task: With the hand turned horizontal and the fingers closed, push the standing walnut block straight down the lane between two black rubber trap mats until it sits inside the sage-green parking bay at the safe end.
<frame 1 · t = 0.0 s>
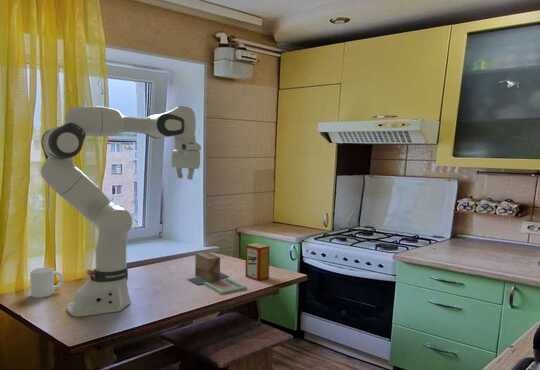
hand: (184, 178, 176), 48 cm above the table, tool pointing down, fingers open, 8 cm apart
baking soda box: (257, 278, 199), on the table
parking bay: (224, 286, 185), on the table
mug: (47, 294, 171), on the table
trap mat right: (218, 275, 202), on the table
walnut block: (207, 278, 197), on the table
trap mat left: (197, 281, 191), on the table
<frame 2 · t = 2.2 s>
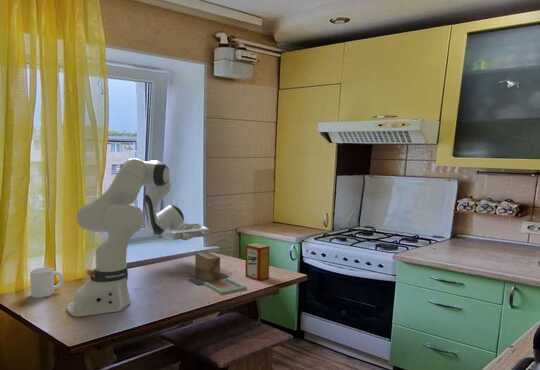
hand: (196, 236, 205), 18 cm above the table, tool horizontal, fingers open, 6 cm apart
nothing on the table moved.
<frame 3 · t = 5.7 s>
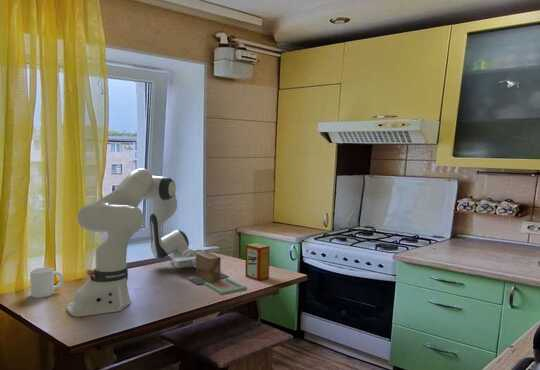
hand: (201, 264, 202), 5 cm above the table, tool horizontal, fingers closed, pressing on walnut block
walnut block: (207, 278, 197), on the table, touching gripper
everything else where it was.
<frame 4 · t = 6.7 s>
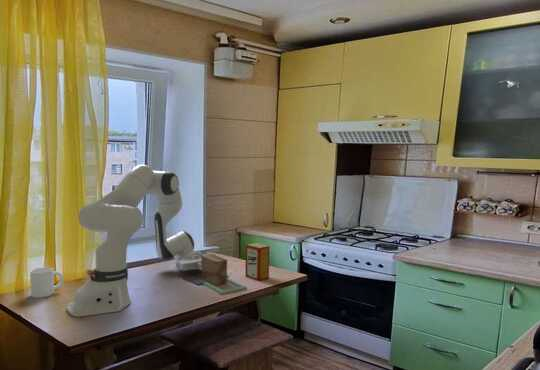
hand: (206, 266, 197), 5 cm above the table, tool horizontal, fingers closed, pressing on walnut block
walnut block: (213, 281, 192), on the table, touching gripper
everything else where it was.
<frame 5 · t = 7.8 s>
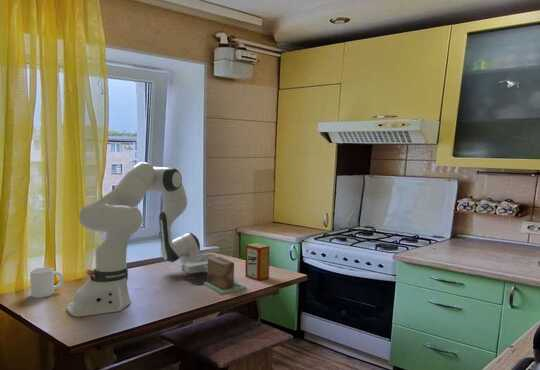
hand: (213, 269, 193), 5 cm above the table, tool horizontal, fingers closed, pressing on walnut block
walnut block: (220, 284, 188), on the table, touching gripper
everything else where it was.
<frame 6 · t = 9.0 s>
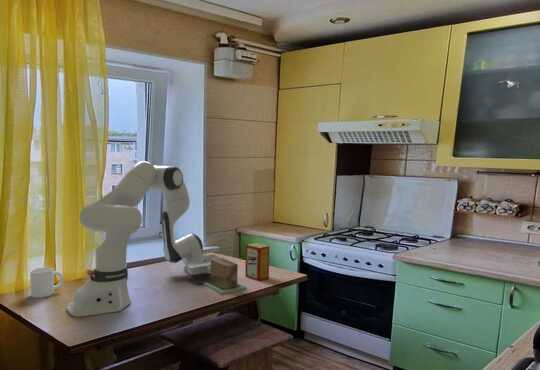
hand: (216, 270, 190), 5 cm above the table, tool horizontal, fingers closed, pressing on walnut block
walnut block: (223, 286, 186), on the table, touching gripper
everything else where it was.
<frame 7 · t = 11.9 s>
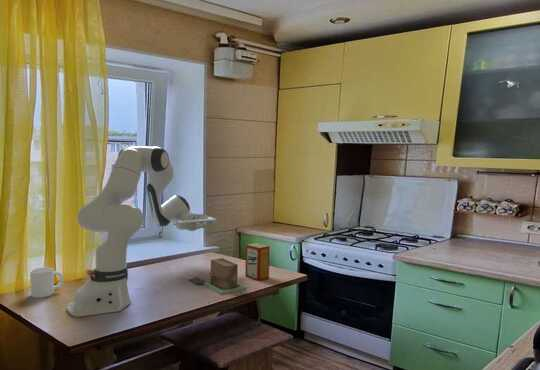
hand: (204, 225, 198), 24 cm above the table, tool horizontal, fingers closed
walnut block: (223, 286, 186), on the table
everything else where it was.
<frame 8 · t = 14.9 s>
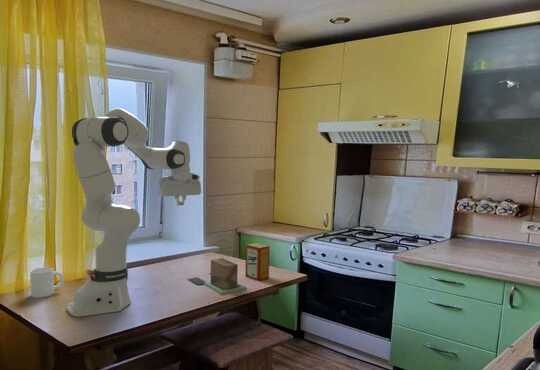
hand: (180, 205, 198), 34 cm above the table, tool pointing down, fingers closed
nothing on the table moved.
at the end: walnut block 0.2 cm off-centre on the parking bay, point 0.0 cm above the parking bay's base; walnut block tilted 0°; walnut block moved 14.8 cm from its start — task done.
